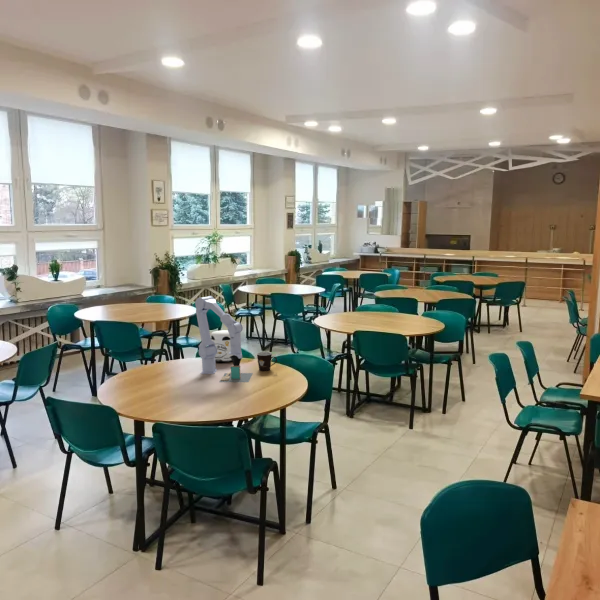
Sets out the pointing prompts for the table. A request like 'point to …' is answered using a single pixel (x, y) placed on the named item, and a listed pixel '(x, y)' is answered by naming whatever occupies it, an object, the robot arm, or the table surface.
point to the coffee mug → (265, 361)
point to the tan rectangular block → (235, 372)
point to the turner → (226, 377)
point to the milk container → (222, 345)
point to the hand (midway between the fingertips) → (236, 368)
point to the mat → (244, 378)
